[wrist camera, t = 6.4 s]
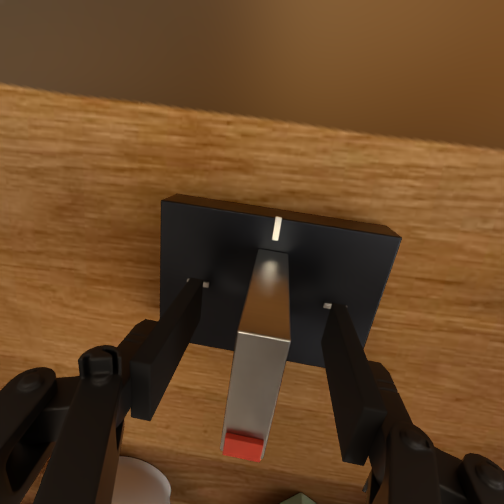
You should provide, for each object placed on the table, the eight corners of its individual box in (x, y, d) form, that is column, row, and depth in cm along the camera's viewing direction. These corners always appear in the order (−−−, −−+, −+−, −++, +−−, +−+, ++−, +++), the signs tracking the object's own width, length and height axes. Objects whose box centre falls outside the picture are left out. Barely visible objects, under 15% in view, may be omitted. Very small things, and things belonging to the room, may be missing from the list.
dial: (258, 248, 16) (235, 335, 9) (288, 253, 16) (291, 346, 9) (245, 330, 19) (218, 457, 11) (271, 335, 19) (262, 467, 11)
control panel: (387, 224, 18) (404, 236, 15) (347, 350, 21) (355, 377, 19) (176, 191, 18) (159, 198, 16) (172, 318, 22) (158, 340, 20)
